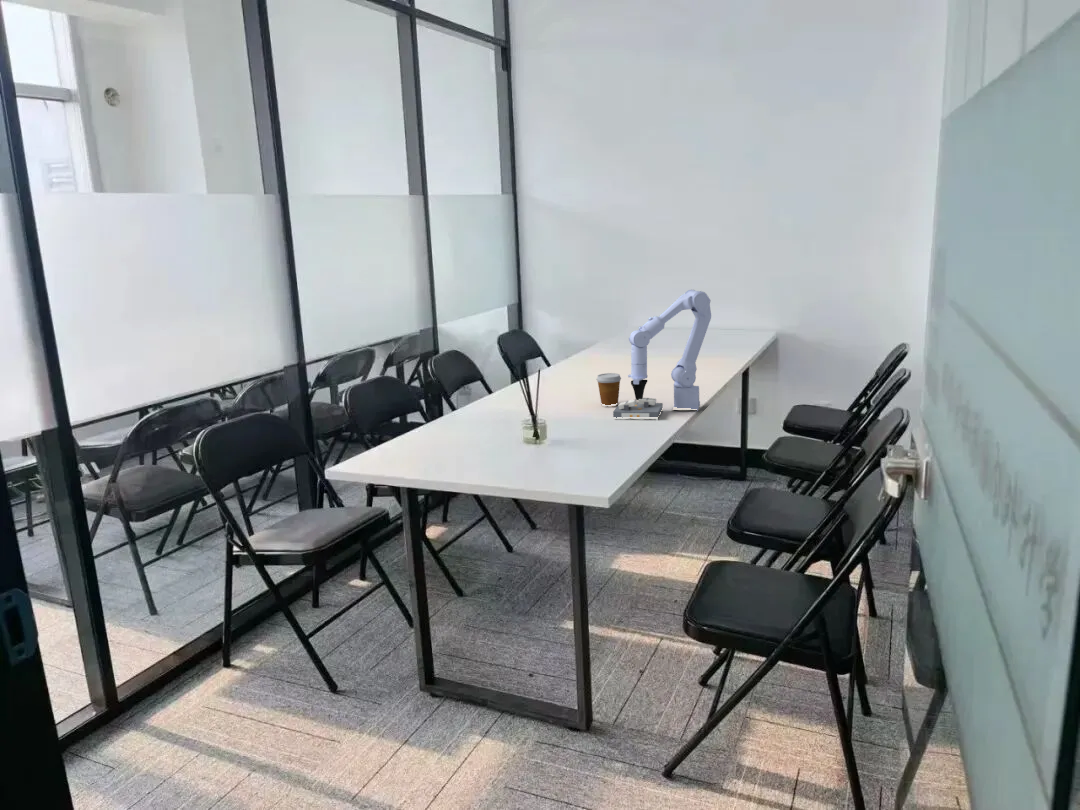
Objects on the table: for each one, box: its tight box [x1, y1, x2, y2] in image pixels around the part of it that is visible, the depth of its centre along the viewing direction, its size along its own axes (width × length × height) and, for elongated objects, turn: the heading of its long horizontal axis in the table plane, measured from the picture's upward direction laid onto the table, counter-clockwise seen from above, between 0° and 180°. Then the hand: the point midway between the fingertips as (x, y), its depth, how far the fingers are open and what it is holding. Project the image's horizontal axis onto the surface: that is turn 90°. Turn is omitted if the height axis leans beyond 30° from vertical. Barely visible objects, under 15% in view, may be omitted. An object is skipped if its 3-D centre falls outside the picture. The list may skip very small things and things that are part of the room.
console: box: [612, 402, 664, 418], centre depth 288 cm, size 16×14×5 cm
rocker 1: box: [618, 398, 638, 409], centre depth 286 cm, size 6×4×2 cm, turn 74°
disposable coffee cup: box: [596, 372, 622, 405], centre depth 305 cm, size 10×10×12 cm
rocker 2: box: [637, 397, 657, 405], centre depth 289 cm, size 6×4×2 cm, turn 74°
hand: (639, 399), depth 290 cm, fingers closed, pressing on rocker 2
